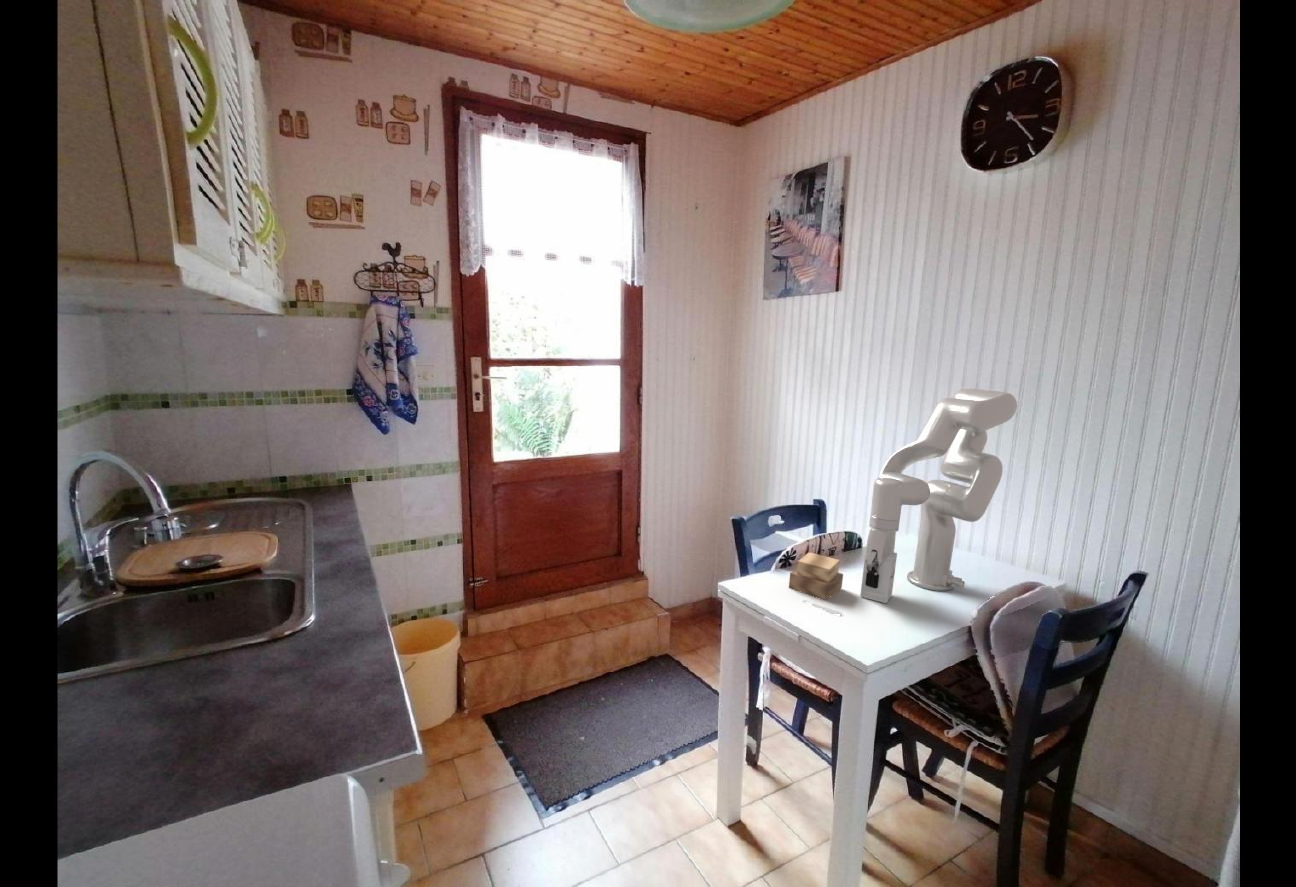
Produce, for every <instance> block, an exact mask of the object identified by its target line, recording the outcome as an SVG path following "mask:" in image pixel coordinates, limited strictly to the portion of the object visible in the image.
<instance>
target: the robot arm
mask: <svg viewBox="0 0 1296 887" xmlns="http://www.w3.org/2000/svg"><path fill="white" fill-rule="evenodd" d="M1017 407H1018V401H1017V399H1016V398H1015V395H1013V394H1011V393H1010V392H1005V391H995V390H986V389H980V388H979V389H977V388H963V389H959V390H957V391H956V392H955V393H954V394H953V396H952V397H946V398H943V399H941V400H939V402H937V403H936V405H935V407H934V408H933V410H932V411H931V413H930V416H928V419H927V421H926V422H925V424H924V425H923V427H922V429H921V431H920V432H919V434H918V436H917V438H916V439H915V440H914V441H912V442H909V443H908V444H906V445H905V446H902V447H901V448H899V449H898V450H897V451H895V452H894V453H893V454H892V455H891V456H889V457H888V459H887V460H886V462H885V464H884V465H883V467H882V469H881V470H880V472H879V474H878V476H877V478H876V479H875V481H874V484H873V490H872V498H871V508H870V515H869V516H870V517H869V526H868V527H870V528H869V532H868V536H867V540H866V545H865V546H866V547H865V552H864V557H863V558H864V560H865V562H867V575H866V583H865V585H866V586H869V587H872V588H875V589H876V588H878V581H879V575H878V572H879V569H880V566H882V565H883V562H884V559H885V558H887V557H888V556H889V555H891V554H892V553H893V552H894V553H895V547H896V534H897V532H898V531H899V528H900V521H901V514H902V506H920V523H919V530H918V531H919V532H918V536H917V544H916V552H915V558H914V565H913V570H911V571H909V572H907V573H906V574H907V575H906V578H907V581H908V582H910V583H912V584H913V585H914V586H917V587H920V588H923V589H926V590H931V591H938V592H946V591H947V592H948V591H950V590H953V588H954V586H957V587H959V588H964V586H965V581H964V580H963V578H961V577H956V576H955V575H953V570H951V566H952V565H951V564H952V557H953V552H954V543H955V539H956V533H957V530H956V524H955V521H954V519H958V520H961V521H966V522H969V523H973V522H978V521H979V520H981V518H983V517H984V514H985V513H986V511H987V509H988V507H989V505H990V504H991V501H992V499H993V497H994V495H995V493H996V490H997V488H998V486H999V485H1000V481H1001V480H1002V476H1003V468H1004V467H1003V463H1002V461H1001V459H1000V458H999V457H997V456H995V455H993V454H990V453H988V452H987V453H986V452H983V451H984V448H985V446H986V444H987V442H988V434H987V430H990V429H993V428H995V427H998V426H1000V425H1003V424H1004V423H1007V422H1009V421H1010V420H1011V419H1012V418H1013V417H1014V415H1016V411H1017V409H1018V408H1017ZM940 457H943V459H942V460H941V463H940V472H941V474H942V475H943V476H944V477H946V478H947V479H951V480H954V481H957V482H962V483H966V484H970V486H967V485H962V484H958V483H955V482H950V481H947V480H944V479H932V480H931V479H930V480H928V481H925V480H923V479H921V478H918V477H914V476H910V475H908V474H904V473H903V472H904V471H905V470H906V469H907V468H908V467H909V466H911V465H913V464H915V463H918V462H922V461H927V460H931V459H936V458H940ZM876 557H877V560H878V561H879V563H875V562H874V561H875V559H876ZM873 565H875V566H877V567H876V570H875V567H873Z"/></svg>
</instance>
